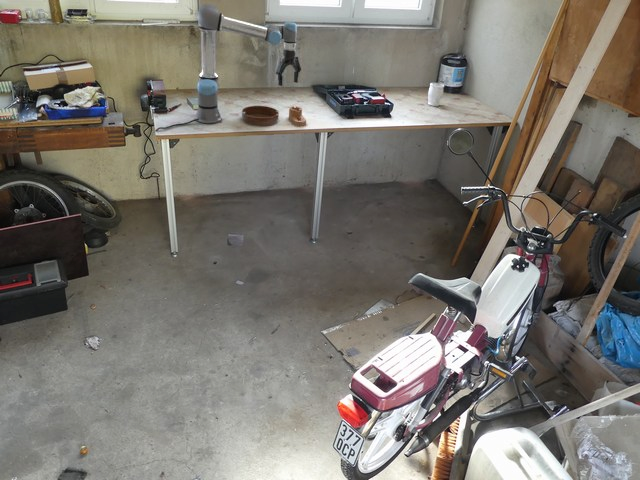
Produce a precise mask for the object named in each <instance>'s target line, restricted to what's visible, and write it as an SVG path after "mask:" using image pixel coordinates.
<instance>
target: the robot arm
mask: <svg viewBox="0 0 640 480" xmlns="http://www.w3.org/2000/svg"><path fill="white" fill-rule="evenodd" d="M196 18H197V19H196V20H197V22H198V25H197V26H198V30H200V46H201V47H200V48H201V53H200V55H201V58H200V59H201V71H200V73H199V74H198V82H197V87H196V89H197V105H198V107H197V110H196V111H197V112H196V114H195V119H193V120H189V121H187V122H184V123H175V124H172V125H167V126H165V127H164V126H161V127H157V128H156V130H155V132H158V131H159V130H166V129H170V128H172V127H176V126H184V125H189V124H191V123H193V122H197V123H200V124H207V125H208V124H209V125H210V124H212V125H213V124H217V123H220V122H221V121H222V117H221V116H222V115H221V113H220V109H219V107H218V105H219V104H218V103H219V102H218V101H219V100H218V94H219V93H218V92H219V87H220V86H219V74H218V73H217V71H216V70H217V36H216V35H217V32H221V31H223V32H224V31H225V32H228V33H233V34H236V35H241V36H244V37H248V38H253V39H256V40H260V41H264V42H268V43H270V44H271V45H274V46H276V45H278V44H280V43H281V42H282V40H283V51H282V53H283V54H282V55H283V58H282V57H279V62H278V65H277V67H276V71H275V75H277V81H278V84H277V85H278V86H280V87H283V81H284V80H283V78H284V77H283V73H284V72H285V70H286V68H287V67H288V66H292V68H293V70H294V72H293V83H299V75H300V74H299V73H301V71H302V67H301V64H300V61H299V56H297V55H296V47H297V23H295V22H292V21H286V22H284V24H283V25H275V24H274V25H273V24H272V25H271V24H265V25H259V24H257V23H252V22H248V21H244V20H240V19H236V18H234V17H233V18H232V17H229V16H225V15H224V13H222V12H219V9H218V8H217V7H216V6H215V5H214V4H212V3H203V4H201V6H200V7H199V9H198V12H197V15H196ZM159 183H160V182H159V177H158V176H157V177H156V186H157V187H156V188H157V197H158V201H161V193H160V184H159Z"/></svg>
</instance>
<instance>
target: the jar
mask: <svg viewBox="0 0 640 480" xmlns="http://www.w3.org/2000/svg"><path fill="white" fill-rule="evenodd" d="M444 88H445V84H444V83H441V82H430V83H429V88H428V92H427V95H428V96H427V100H428V102H427V105H429V106H432V107H438V106H440V102H441V100H442V99H443V96H444Z"/></svg>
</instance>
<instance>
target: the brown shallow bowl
mask: <svg viewBox="0 0 640 480" xmlns="http://www.w3.org/2000/svg"><path fill="white" fill-rule="evenodd" d="M279 115H280V112H279V110H278V109H277V108H275V107H271V106H266V105H250V106H246V107H244V108H242V110H241V120H242V122H243V123H245V124H247V125H250V126H254V127H269V126H270V127H271V126H273V125H276V124H277V123H278V122H279V121H280V120H279V117H280V116H279Z"/></svg>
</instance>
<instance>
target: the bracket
mask: <svg viewBox="0 0 640 480" xmlns="http://www.w3.org/2000/svg"><path fill="white" fill-rule="evenodd" d="M288 119H289V121H290V122H291V124H292V125H293V126H295V127H305V126H306V125H307V119H306V118H305V116H303V108H302V107H301V106H295V105H293V106H289V107H288Z"/></svg>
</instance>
